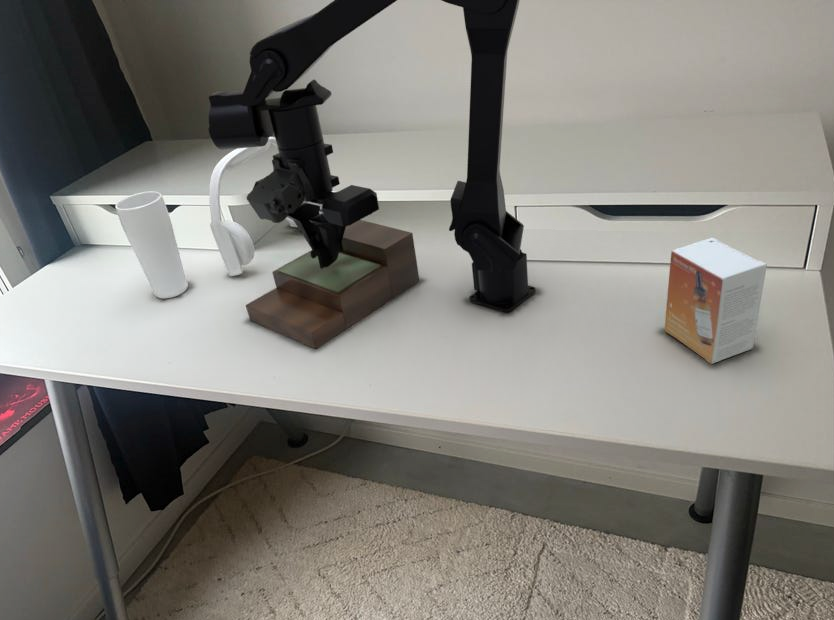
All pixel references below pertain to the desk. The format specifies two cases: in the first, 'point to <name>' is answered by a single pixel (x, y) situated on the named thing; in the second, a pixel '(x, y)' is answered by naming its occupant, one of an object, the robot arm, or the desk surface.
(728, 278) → the small box
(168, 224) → the drinking glass
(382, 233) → the step shelf
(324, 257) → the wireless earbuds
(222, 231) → the headset
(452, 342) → the desk surface
